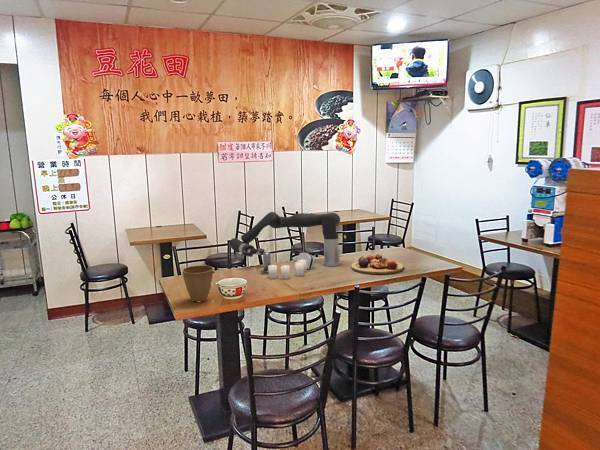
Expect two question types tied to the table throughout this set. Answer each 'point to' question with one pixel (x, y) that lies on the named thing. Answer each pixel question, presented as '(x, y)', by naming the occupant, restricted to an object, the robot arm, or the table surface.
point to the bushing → (266, 261)
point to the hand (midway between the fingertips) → (258, 254)
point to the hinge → (306, 257)
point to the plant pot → (198, 281)
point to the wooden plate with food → (376, 265)
